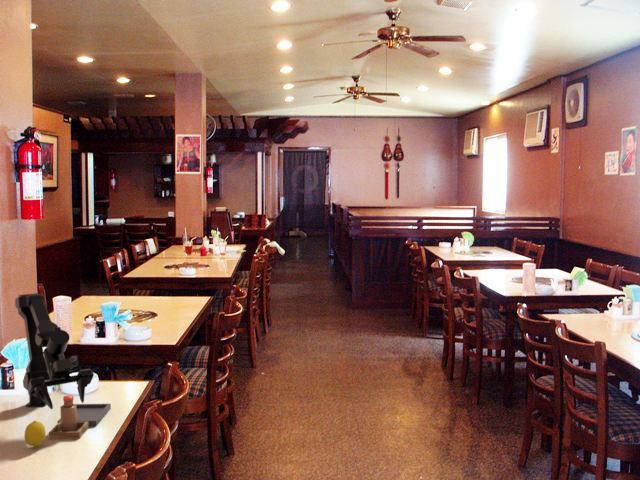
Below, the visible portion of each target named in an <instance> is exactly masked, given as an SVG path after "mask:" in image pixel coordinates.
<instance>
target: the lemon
mask: <svg viewBox="0 0 640 480" xmlns="http://www.w3.org/2000/svg"><path fill="white" fill-rule="evenodd" d="M45 439H46V429H45V425H44V424H43V423H42V422H40V421H37V420H33V421H32V422H30V423H28V425H26V427H25V430H24V440H25V442H26V444H27V445H28V446H30V447H32V448H35V449H36V448H38V446H40V445H42V444H43V442H44V441H45Z"/></svg>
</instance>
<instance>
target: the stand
mask: <svg viewBox="0 0 640 480" xmlns="http://www.w3.org/2000/svg"><path fill="white" fill-rule="evenodd" d="M89 428H90V426H89V421H83V422H77V431H75V432H61V422H59V423H58V422H57V423H56V425H55V426H54V427H52V428H51V430H50V431H49V432H48V440H80V439H81V437H83V435H84V434H85V433H86V432H87V431H88V429H89Z"/></svg>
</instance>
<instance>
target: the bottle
mask: <svg viewBox="0 0 640 480" xmlns="http://www.w3.org/2000/svg"><path fill="white" fill-rule="evenodd" d="M62 398H63V399H62V400H63V404H62V405H61V406H60V418H61V430H60V432H75V431H78V429H77V405H76V404H77V403H74V395H71V394H69V395H64V396H63V397H62Z"/></svg>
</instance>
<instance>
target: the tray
mask: <svg viewBox="0 0 640 480" xmlns="http://www.w3.org/2000/svg"><path fill="white" fill-rule="evenodd" d="M75 404H76V405H77V422H83V421H89V427H97V426H98V425H99V424H100V422H102V420H103V419H104V418H105V417H106V416H107V414H108V412H110V410H111V409H112V408H111V406H112V405H111V403H75ZM59 422H61V417H60V418H59V419H58V420H57V424H58V423H59Z"/></svg>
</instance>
